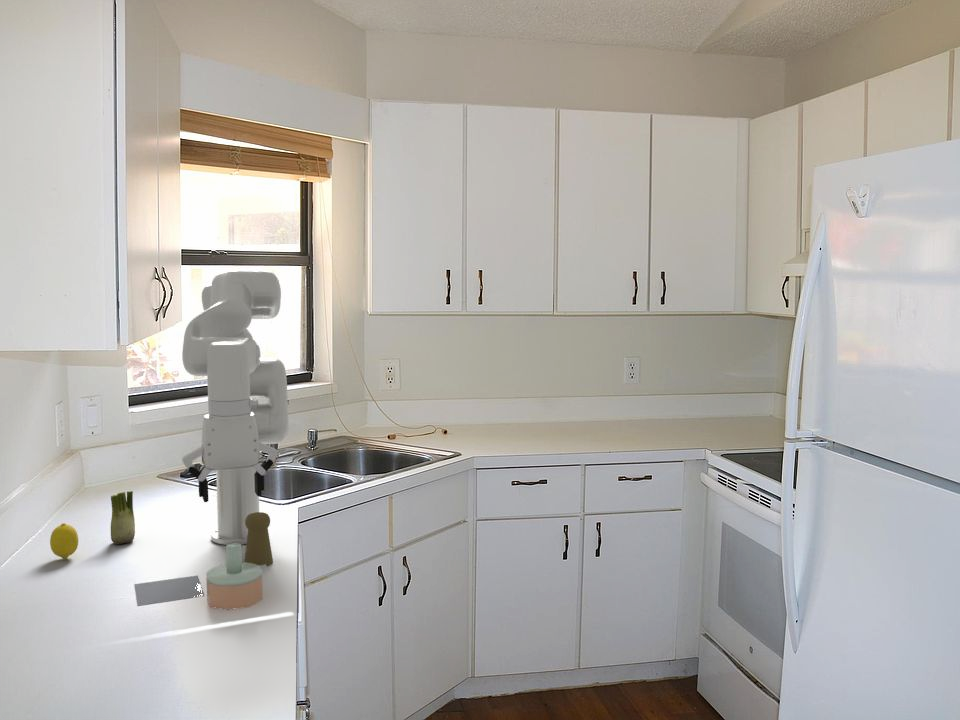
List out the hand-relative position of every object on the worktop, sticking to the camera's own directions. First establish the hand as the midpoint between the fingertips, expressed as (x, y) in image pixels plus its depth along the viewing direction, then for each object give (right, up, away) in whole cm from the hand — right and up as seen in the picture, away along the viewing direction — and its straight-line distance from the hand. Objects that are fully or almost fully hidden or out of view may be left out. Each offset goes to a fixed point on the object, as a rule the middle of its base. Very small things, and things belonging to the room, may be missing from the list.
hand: (232, 497), depth 159 cm
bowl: (0, -20, +2) cm, 20 cm away
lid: (0, -15, +1) cm, 15 cm away
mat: (-14, -20, +6) cm, 25 cm away
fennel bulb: (-36, -17, +37) cm, 54 cm away
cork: (-1, -18, +23) cm, 29 cm away
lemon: (-44, -18, +25) cm, 54 cm away
